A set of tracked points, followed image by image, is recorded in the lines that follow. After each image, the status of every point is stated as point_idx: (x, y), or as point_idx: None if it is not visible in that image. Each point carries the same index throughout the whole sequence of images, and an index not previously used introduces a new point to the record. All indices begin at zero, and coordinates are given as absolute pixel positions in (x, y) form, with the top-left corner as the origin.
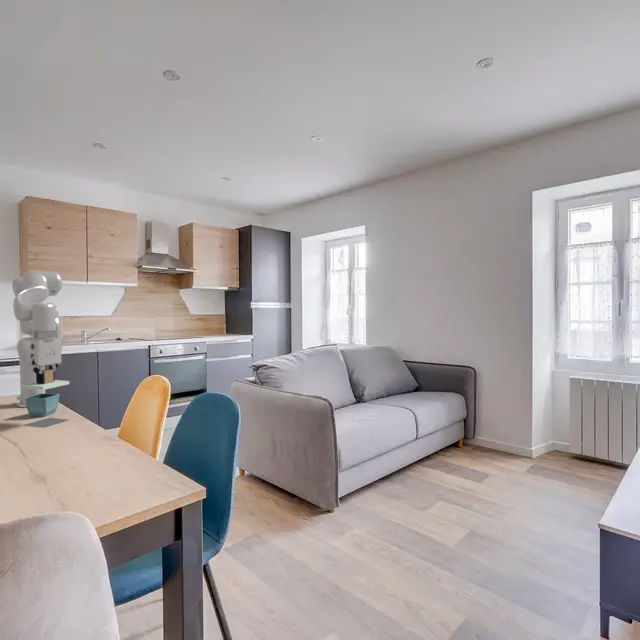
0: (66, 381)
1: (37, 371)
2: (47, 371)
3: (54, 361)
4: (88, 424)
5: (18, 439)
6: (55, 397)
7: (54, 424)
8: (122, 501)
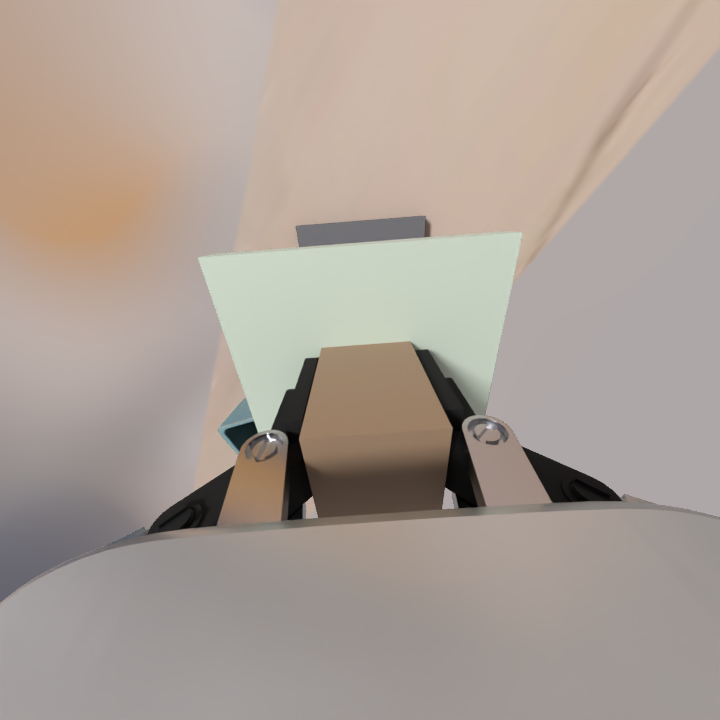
0: (227, 267)
1: (530, 456)
2: (397, 421)
3: (245, 597)
4: (279, 73)
5: (546, 190)
6: (247, 413)
7: (376, 220)
8: None
